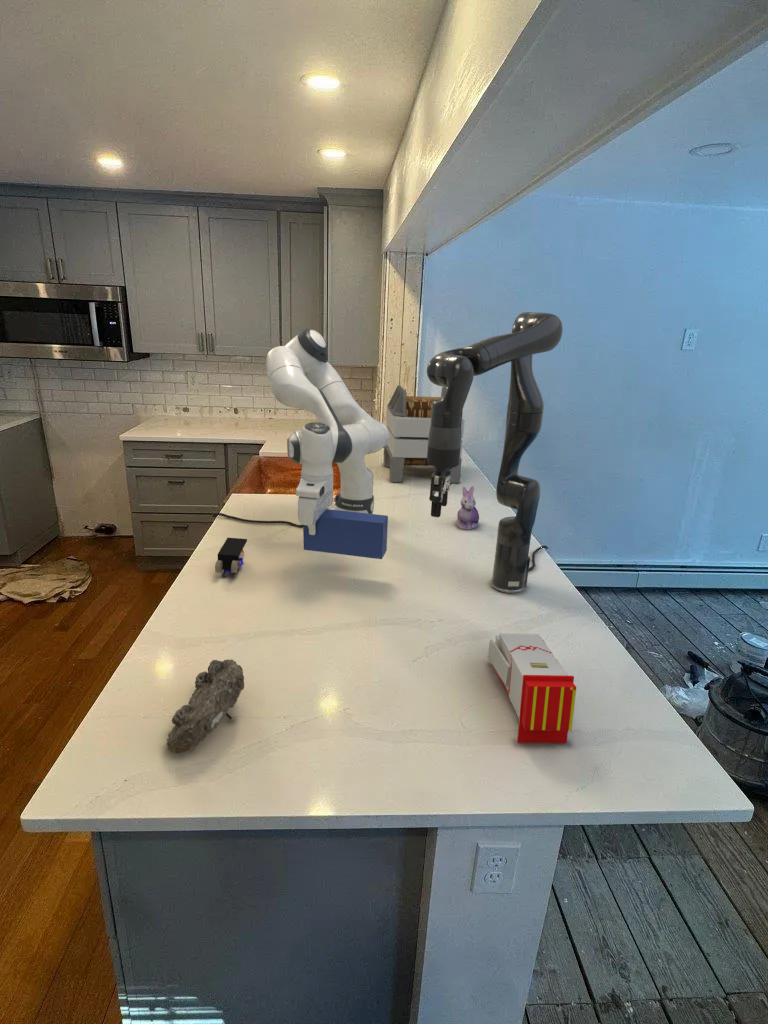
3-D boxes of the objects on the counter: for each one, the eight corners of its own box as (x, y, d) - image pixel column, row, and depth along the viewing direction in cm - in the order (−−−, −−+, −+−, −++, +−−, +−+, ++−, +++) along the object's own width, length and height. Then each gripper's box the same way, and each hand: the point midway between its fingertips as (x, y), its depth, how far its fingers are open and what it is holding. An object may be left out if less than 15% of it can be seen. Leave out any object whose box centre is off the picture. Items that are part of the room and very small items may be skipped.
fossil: (192, 660, 117) (244, 628, 112) (224, 691, 120) (276, 661, 115) (142, 746, 98) (202, 712, 93) (182, 779, 101) (242, 748, 96)
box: (303, 549, 161) (302, 514, 157) (310, 541, 167) (310, 507, 163) (382, 559, 157) (383, 523, 153) (386, 550, 163) (388, 515, 159)
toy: (536, 617, 130) (585, 683, 100) (531, 671, 132) (578, 750, 103) (483, 616, 129) (518, 682, 100) (479, 670, 132) (511, 749, 103)
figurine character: (238, 584, 162) (249, 557, 175) (236, 562, 158) (247, 536, 172) (215, 584, 161) (227, 556, 175) (212, 561, 158) (225, 535, 171)
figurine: (464, 532, 204) (468, 492, 199) (449, 522, 212) (452, 484, 207) (486, 528, 208) (490, 489, 203) (469, 519, 216) (473, 481, 211)
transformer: (382, 463, 289) (386, 382, 275) (445, 464, 293) (451, 384, 279) (390, 482, 257) (394, 392, 243) (460, 483, 261) (468, 394, 247)
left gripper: (318, 471, 167) (318, 515, 171) (293, 492, 148) (294, 540, 153) (338, 473, 166) (338, 518, 170) (316, 494, 147) (316, 543, 151)
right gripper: (455, 453, 123) (449, 522, 128) (465, 439, 136) (459, 503, 141) (421, 449, 125) (417, 518, 130) (434, 436, 137) (429, 500, 143)
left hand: (317, 529), depth 161 cm, fingers closed on box, 6 cm apart
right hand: (438, 510), depth 136 cm, fingers open, 8 cm apart
